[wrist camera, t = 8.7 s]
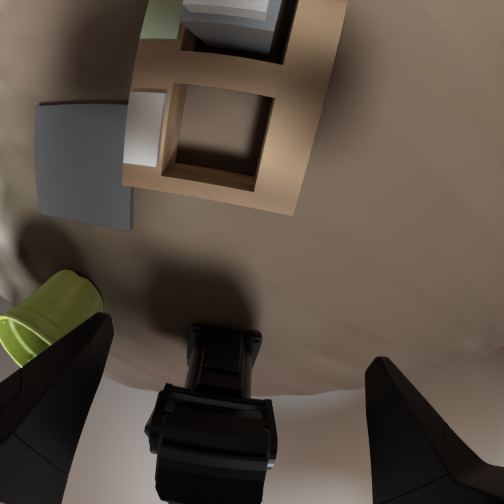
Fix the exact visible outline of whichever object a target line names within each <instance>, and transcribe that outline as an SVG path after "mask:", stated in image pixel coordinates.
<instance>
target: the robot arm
mask: <svg viewBox="0 0 504 504" xmlns="http://www.w3.org/2000/svg"><path fill="white" fill-rule="evenodd" d="M113 336H114V330H113V324H112V319H111V316H110V314H107V313H104V312H97V313H95V314H94V315H93V316H91V317H90V318H88V319H87V320H85V321H84V322H83V323H81V324H80V325H78V326H77V327H75V328H74V329H73V330H71V331H70V332H68V333H67V334H66V335H64V336H63V337H61V338H60V339H59V340H57V341H56V342H55V343H53V344H52V345H50V346H49V347H48V348H46V349H45V350H44V351H42V352H41V353H40V354H38V355H37V356H36V357H34V358H33V359H31V360H30V361H29V362H27V363H26V364H25V365H23V367H22V368H20V369H18V370H17V371H15V372H14V373H13V374H11V375H10V376H9V377H7V378H6V379H5V380H3V381H2V382H0V504H61V503H62V499H63V495H64V490H65V487H66V483H67V479H68V474H69V472H70V468H71V464H72V461H73V458H74V455H75V451H76V448H77V445H78V442H79V439H80V436H81V432H82V429H83V427H84V424H85V421H86V418H87V415H88V412H89V410H90V407H91V404H92V401H93V399H94V396H95V393H96V391H97V388H98V386H99V383H100V380H101V378H102V375H103V371H104V368H105V364H106V360H107V357H108V353H109V350H110V346H111V343H112V340H113ZM256 339H258V340H256ZM261 344H262V336H261V335H259V334H253V333H246V332H240V331H234V330H228V329H223V328H217V327H212V326H206V325H201V324H192V325H191V327H190V335H189V349H188V363H187V364H188V366H189V368H188V373H187V377H186V382H185V387H184V388H183V387H178V386H173V384H169V383H166V384H165V387H164V390H162V391H160V392H159V393H158V397H157V401H156V405H155V408H154V410H153V412H152V414H151V416H150V418H149V420H148V422H147V424H146V426H145V430H144V432H145V433H146V435H147V436H148V438H149V444H150V452H151V453H153V454H157V462H156V473H155V481H156V486H155V488H156V491H157V493H158V495H159V497H160V499H161V500H162V501H166V502H168V504H261V502H262V496H263V486H264V481H265V476H266V471H267V470H270V469H271V468H272V467H273V465H274V462H275V459H276V454H277V443H278V442H277V431H276V425H275V419H274V413H273V407H272V401H271V400H270V399H264V400H260V399H251V374H252V368H253V365H254V363H255V360H256V357H257V355H258V352H259V349H260V346H261ZM365 395H366V418H367V427H368V436H369V446H370V458H371V474H372V494H373V504H504V467H500V466H494V465H490V464H488V463H486V462H484V461H483V460H482V459H481V458H480V457H478V456H477V455H476V454H475V453H474V452H473V451H472V450H471V449H470V448H469V447H468V446H467V445H466V444H465V443H464V442H463V441H462V440H461V439H460V438H459V437H458V436H457V434H456V433H455V432H454V431H453V430H452V429H451V428H450V427H449V425H448V424H447V423H446V422H444V420H443V419H442V417H440V415H439V414H438V413H437V412H436V410H435V409H434V408H433V407H432V406H431V405H430V404H429V403H428V401H426V399H425V398H424V397H423V396H422V395H421V393H420V392H419V391H418V390H417V389H416V388H415V387H414V386H413V385H412V383H411V382H410V381H409V380H408V379H407V378H406V377H405V376H404V374H403V373H402V372H401V371H400V370H399V369H398V368H397V367H396V366H395V364H394V363H393V362H392V361H391V360H390V359H389V358H388V357H384V356H378V357H376V358H375V359H374V360H373V362H372V363H371V364H370V366H369V367H368V368H367V370H366V372H365Z"/></svg>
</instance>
